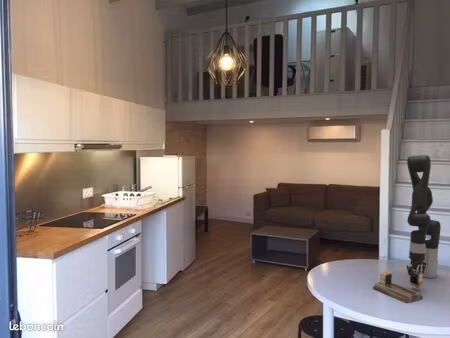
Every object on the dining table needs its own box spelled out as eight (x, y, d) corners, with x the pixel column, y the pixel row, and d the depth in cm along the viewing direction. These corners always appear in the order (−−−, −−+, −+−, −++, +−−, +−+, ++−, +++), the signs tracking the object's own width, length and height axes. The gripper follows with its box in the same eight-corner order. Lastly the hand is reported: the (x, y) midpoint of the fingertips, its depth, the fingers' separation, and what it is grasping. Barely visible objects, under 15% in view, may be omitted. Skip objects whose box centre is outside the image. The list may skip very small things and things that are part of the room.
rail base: (388, 285, 205) (389, 269, 205) (422, 298, 188) (423, 282, 187) (373, 288, 200) (373, 273, 199) (406, 303, 182) (407, 286, 182)
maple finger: (422, 286, 198) (422, 273, 197) (418, 288, 196) (418, 275, 196) (413, 283, 202) (413, 270, 202) (409, 284, 201) (409, 271, 200)
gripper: (419, 247, 204) (417, 277, 206) (402, 250, 198) (400, 282, 199) (432, 250, 198) (430, 282, 199) (415, 254, 191) (413, 287, 192)
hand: (415, 282), depth 199 cm, fingers closed on maple finger, 3 cm apart
